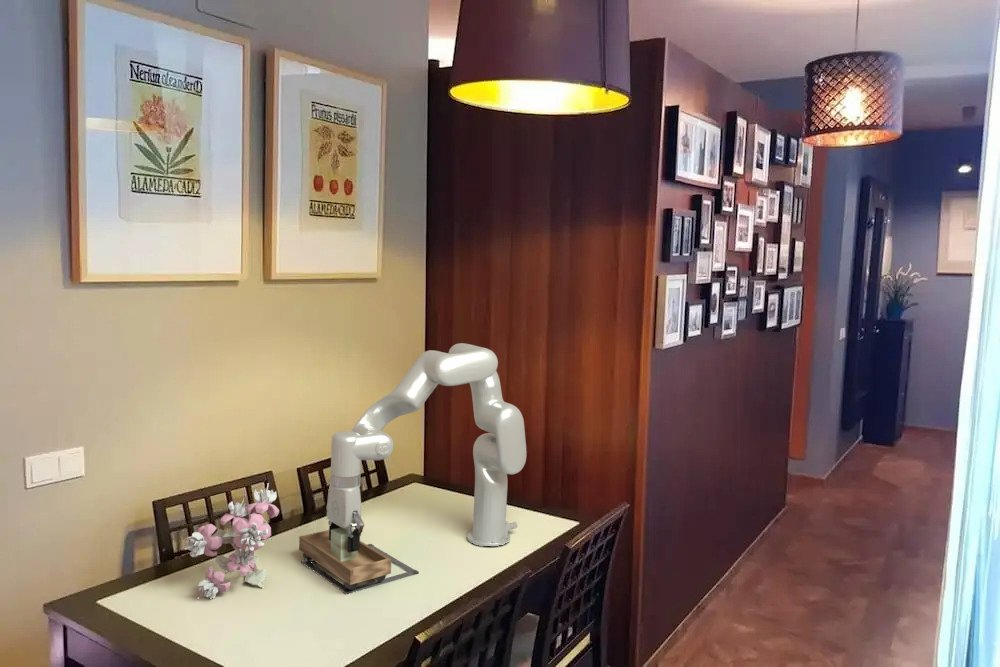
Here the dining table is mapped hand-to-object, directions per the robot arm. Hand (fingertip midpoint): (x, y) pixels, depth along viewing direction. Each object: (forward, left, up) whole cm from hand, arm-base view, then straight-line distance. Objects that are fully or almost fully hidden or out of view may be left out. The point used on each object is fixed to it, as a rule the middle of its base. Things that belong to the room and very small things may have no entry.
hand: (344, 545), depth 199 cm
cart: (0, 0, -7) cm, 7 cm away
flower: (+27, -6, -7) cm, 29 cm away
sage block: (0, 0, -3) cm, 3 cm away
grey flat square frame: (-5, 0, -7) cm, 9 cm away
